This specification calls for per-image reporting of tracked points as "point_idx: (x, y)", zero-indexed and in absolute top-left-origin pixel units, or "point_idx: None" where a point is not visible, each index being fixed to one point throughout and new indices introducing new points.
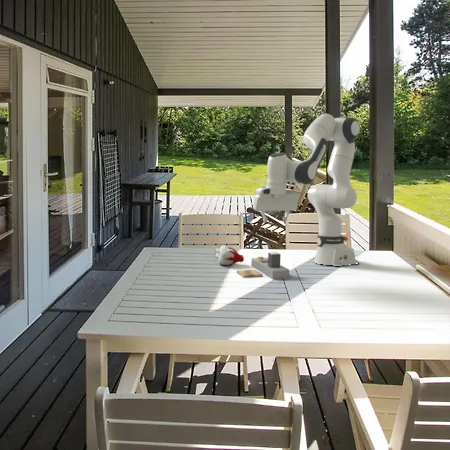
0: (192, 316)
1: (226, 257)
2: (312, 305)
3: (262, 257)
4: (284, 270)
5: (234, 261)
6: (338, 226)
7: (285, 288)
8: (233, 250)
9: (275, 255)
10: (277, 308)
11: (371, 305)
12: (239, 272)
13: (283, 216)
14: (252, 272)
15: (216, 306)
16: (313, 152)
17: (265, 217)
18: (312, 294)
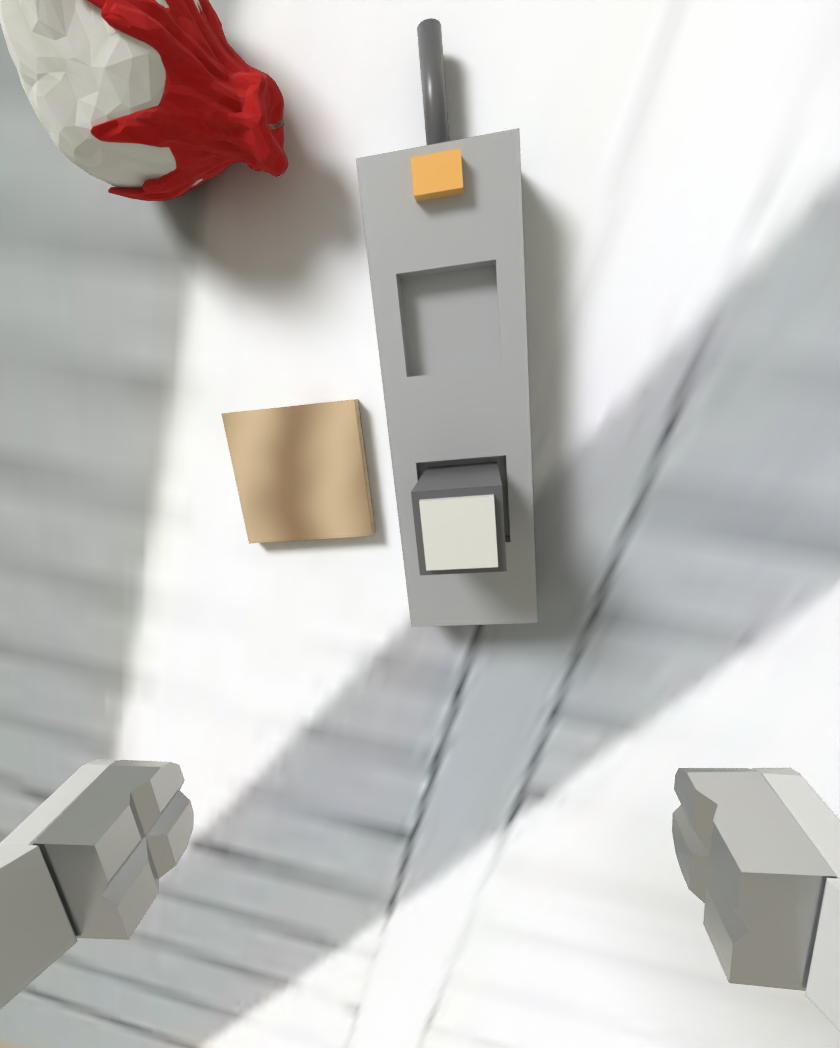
0: None
1: (114, 182)
2: (454, 978)
3: (452, 190)
4: (499, 622)
5: (211, 176)
6: None
7: (429, 773)
8: (141, 62)
9: (456, 570)
10: (314, 967)
11: (691, 1039)
12: (233, 466)
13: (771, 883)
14: (318, 479)
15: None
16: None
17: (68, 933)
18: (520, 877)
